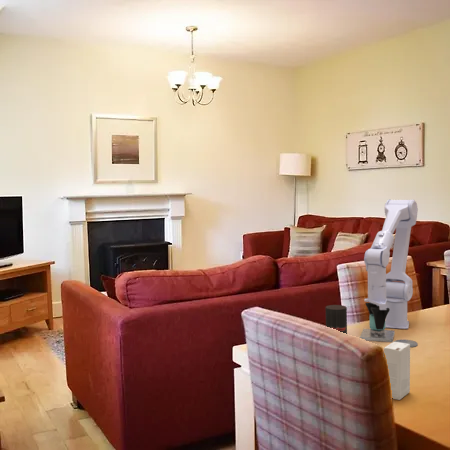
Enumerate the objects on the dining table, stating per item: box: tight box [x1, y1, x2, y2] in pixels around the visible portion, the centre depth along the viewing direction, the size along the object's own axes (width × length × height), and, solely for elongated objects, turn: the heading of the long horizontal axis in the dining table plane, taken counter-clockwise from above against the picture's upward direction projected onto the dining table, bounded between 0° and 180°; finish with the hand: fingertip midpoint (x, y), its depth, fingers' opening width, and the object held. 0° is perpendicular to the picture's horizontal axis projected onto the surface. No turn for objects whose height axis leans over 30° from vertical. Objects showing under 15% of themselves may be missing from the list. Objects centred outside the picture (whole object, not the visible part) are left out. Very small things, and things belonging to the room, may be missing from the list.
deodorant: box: [325, 304, 348, 335], centre depth 158 cm, size 6×6×15 cm
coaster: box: [393, 339, 419, 348], centre depth 169 cm, size 7×7×1 cm
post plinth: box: [359, 328, 395, 343], centre depth 178 cm, size 10×10×2 cm
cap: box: [368, 314, 386, 330], centre depth 178 cm, size 5×5×5 cm
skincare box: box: [383, 341, 411, 401], centre depth 130 cm, size 6×4×12 cm
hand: (377, 326), depth 178 cm, fingers closed on cap, 5 cm apart
